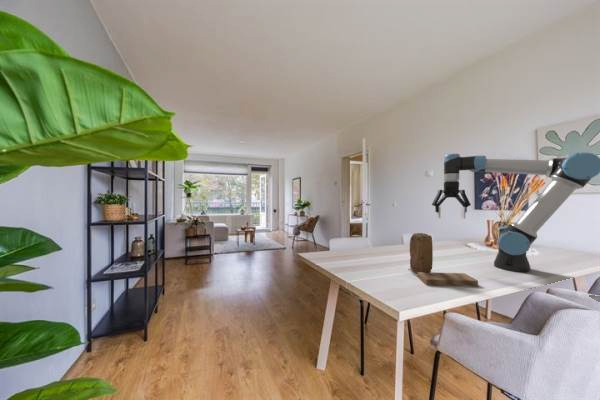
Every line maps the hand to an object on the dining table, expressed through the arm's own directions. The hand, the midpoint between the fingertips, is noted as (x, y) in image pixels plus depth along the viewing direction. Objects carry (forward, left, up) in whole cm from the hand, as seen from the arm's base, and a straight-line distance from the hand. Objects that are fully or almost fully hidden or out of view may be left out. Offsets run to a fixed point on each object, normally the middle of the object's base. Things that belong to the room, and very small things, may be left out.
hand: (450, 218), depth 141 cm
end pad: (+24, +18, -27) cm, 40 cm away
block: (+24, +18, -27) cm, 40 cm away
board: (+17, +30, -27) cm, 43 cm away
